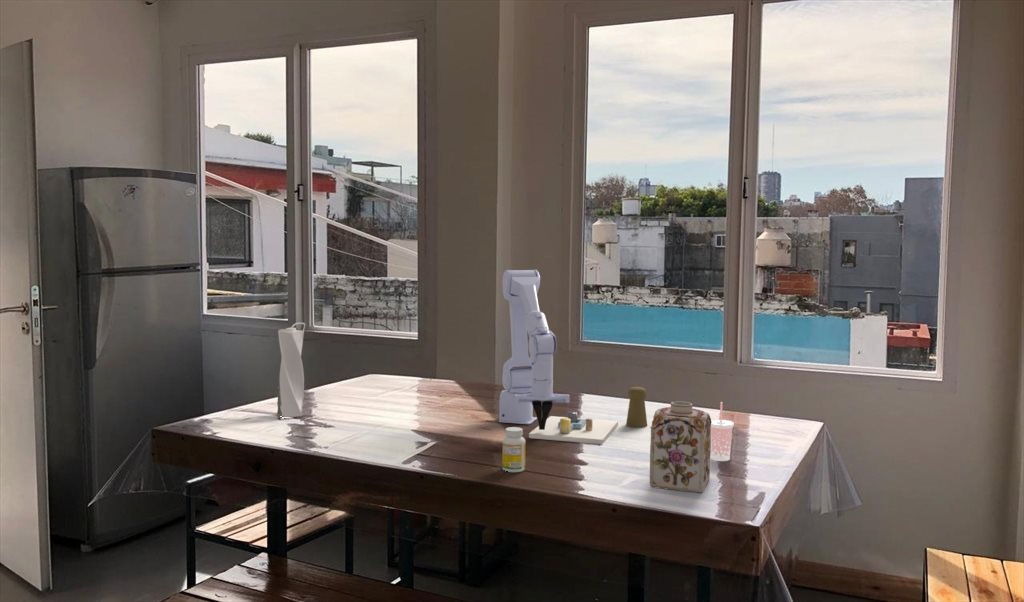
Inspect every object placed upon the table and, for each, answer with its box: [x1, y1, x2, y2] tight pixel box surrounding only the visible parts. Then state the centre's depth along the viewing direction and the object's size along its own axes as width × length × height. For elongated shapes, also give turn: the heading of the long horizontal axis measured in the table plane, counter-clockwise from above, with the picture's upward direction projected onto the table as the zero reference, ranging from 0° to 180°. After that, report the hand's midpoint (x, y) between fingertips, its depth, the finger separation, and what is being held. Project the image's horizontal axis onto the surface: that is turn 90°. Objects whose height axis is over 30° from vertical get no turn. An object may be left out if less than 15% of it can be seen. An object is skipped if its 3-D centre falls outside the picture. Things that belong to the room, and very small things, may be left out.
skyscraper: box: [276, 321, 306, 419], centre depth 244 cm, size 8×8×28 cm
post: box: [566, 411, 579, 423], centre depth 229 cm, size 3×3×5 cm
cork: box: [625, 386, 648, 429], centre depth 236 cm, size 6×6×11 cm
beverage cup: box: [710, 401, 735, 462], centre depth 201 cm, size 6×6×14 cm
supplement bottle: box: [501, 426, 526, 473], centre depth 192 cm, size 5×5×10 cm
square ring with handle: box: [558, 418, 587, 433], centre depth 226 cm, size 13×6×3 cm, turn 162°
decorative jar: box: [649, 400, 712, 494], centre depth 182 cm, size 12×12×18 cm
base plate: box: [528, 415, 619, 445], centre depth 228 cm, size 20×22×1 cm
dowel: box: [585, 418, 593, 431], centre depth 225 cm, size 2×2×4 cm
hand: (541, 428), depth 222 cm, fingers closed
